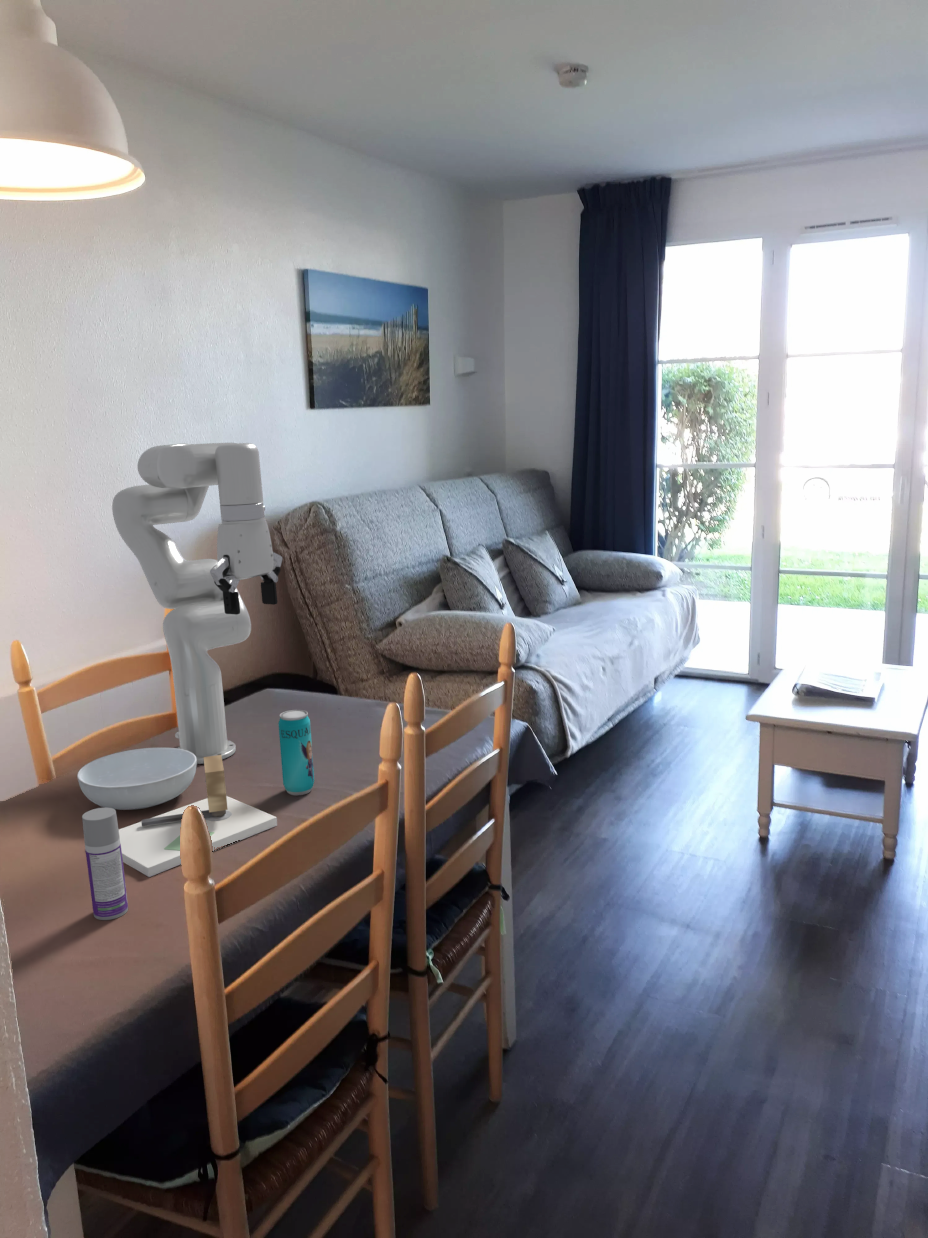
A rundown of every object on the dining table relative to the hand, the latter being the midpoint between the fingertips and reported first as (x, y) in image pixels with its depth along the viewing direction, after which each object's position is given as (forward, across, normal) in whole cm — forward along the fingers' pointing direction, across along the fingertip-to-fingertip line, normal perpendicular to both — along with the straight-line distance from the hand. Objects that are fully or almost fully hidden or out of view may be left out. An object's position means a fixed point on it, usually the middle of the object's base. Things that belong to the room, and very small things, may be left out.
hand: (251, 608), depth 174 cm
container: (+35, +45, +11) cm, 58 cm away
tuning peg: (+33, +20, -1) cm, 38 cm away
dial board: (+35, +22, +2) cm, 41 cm away
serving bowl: (+34, +14, -18) cm, 42 cm away
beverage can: (+35, -2, +6) cm, 35 cm away
